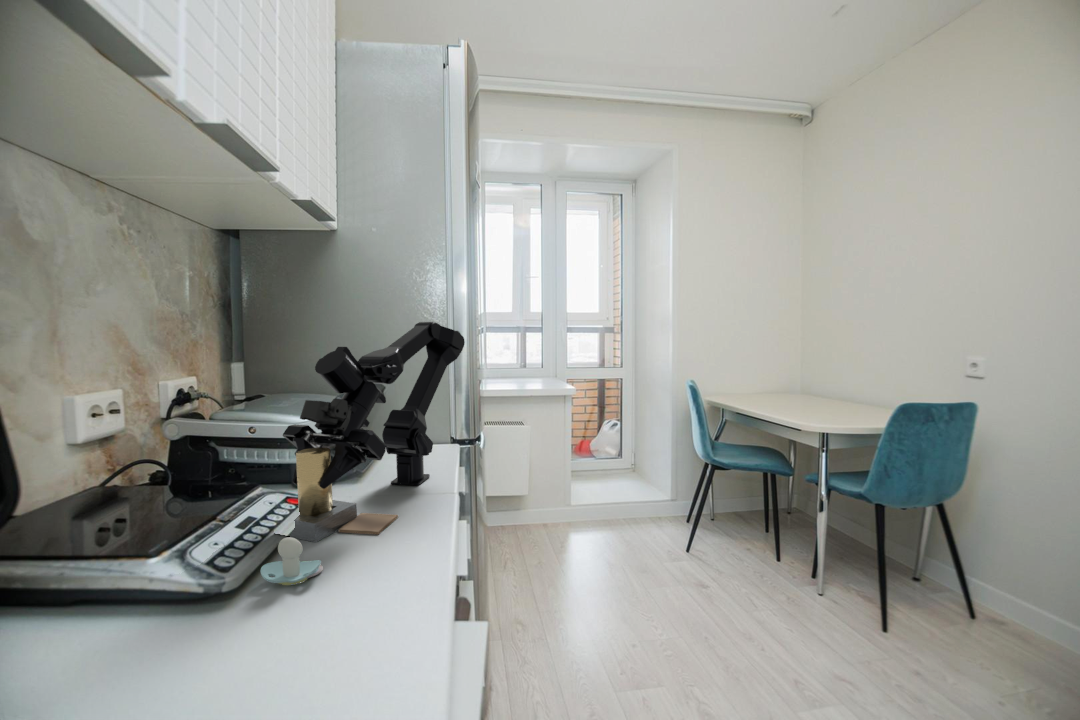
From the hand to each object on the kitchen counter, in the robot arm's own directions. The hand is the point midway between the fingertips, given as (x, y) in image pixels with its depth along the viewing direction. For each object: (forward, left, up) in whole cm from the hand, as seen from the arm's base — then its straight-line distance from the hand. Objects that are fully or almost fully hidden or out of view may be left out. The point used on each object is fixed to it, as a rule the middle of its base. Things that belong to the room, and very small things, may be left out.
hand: (308, 485), depth 77 cm
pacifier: (+14, +8, -8) cm, 18 cm away
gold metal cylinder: (-1, 0, -8) cm, 8 cm away
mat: (-3, +9, -8) cm, 12 cm away
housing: (-1, 0, -8) cm, 8 cm away
